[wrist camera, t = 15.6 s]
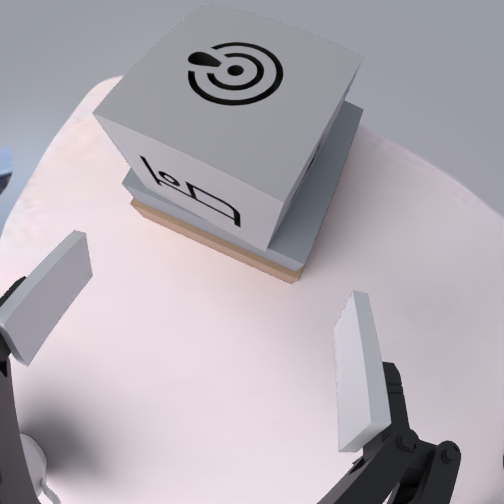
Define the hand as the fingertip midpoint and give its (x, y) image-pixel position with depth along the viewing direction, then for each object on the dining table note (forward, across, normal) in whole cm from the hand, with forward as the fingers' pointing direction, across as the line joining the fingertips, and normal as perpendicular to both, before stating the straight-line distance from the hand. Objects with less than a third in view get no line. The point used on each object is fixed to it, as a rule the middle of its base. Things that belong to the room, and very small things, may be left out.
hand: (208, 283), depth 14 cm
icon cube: (+12, -1, +2) cm, 12 cm away
